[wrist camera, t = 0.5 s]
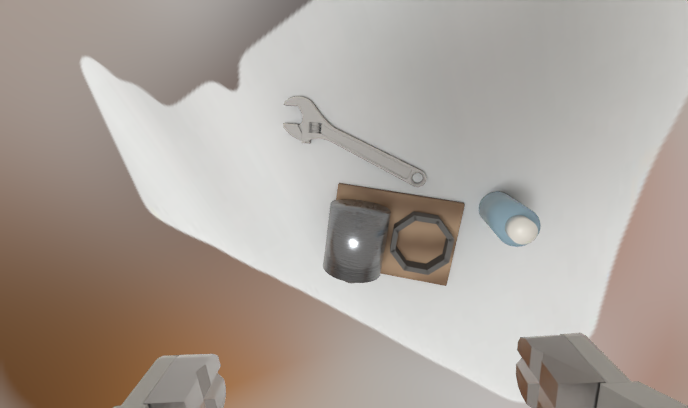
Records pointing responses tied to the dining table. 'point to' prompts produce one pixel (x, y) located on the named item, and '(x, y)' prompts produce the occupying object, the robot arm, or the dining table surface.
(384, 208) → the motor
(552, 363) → the robot arm
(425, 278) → the base plate
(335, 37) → the dining table surface
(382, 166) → the adjustable wrench
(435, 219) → the collar
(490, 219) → the blue plastic bottle
